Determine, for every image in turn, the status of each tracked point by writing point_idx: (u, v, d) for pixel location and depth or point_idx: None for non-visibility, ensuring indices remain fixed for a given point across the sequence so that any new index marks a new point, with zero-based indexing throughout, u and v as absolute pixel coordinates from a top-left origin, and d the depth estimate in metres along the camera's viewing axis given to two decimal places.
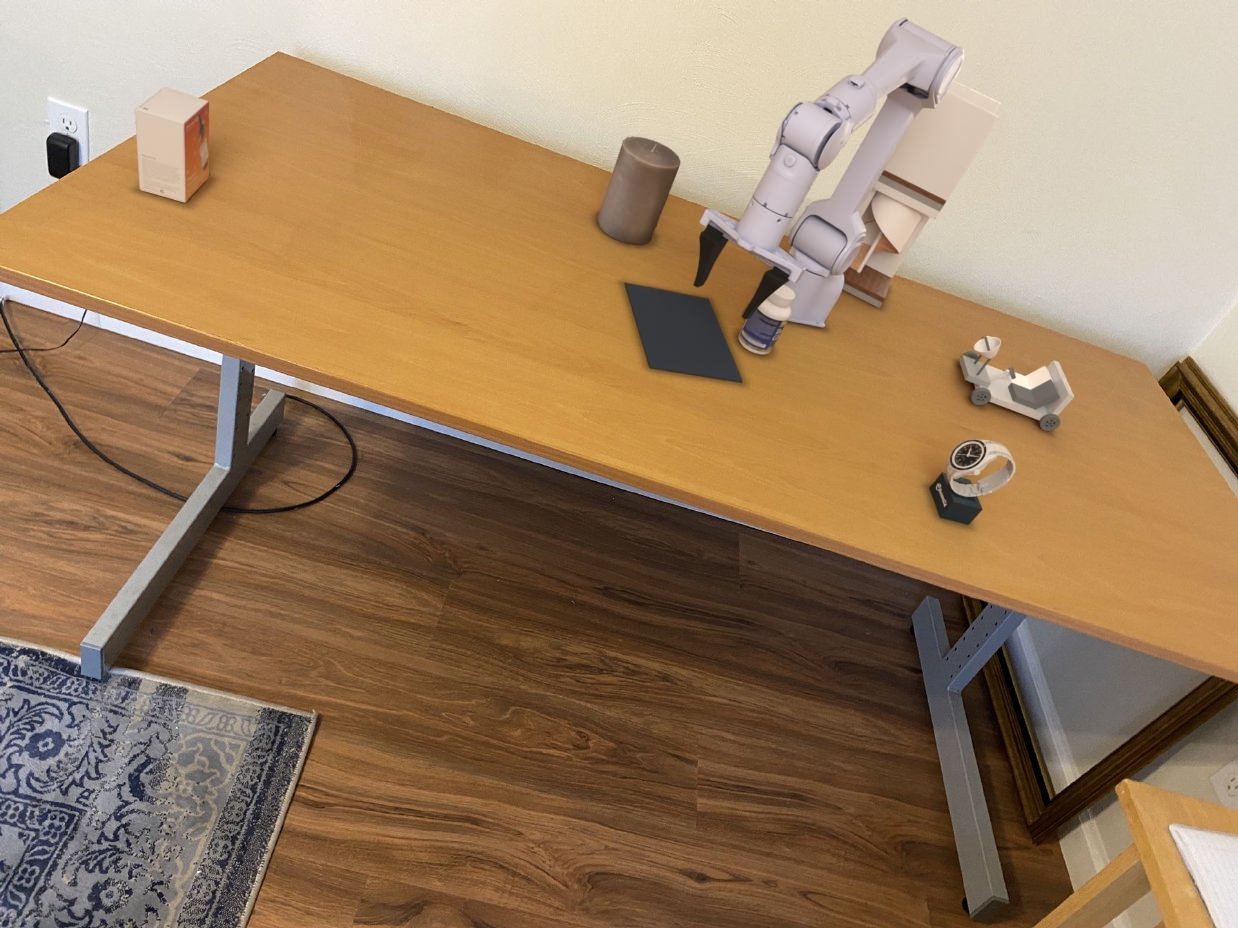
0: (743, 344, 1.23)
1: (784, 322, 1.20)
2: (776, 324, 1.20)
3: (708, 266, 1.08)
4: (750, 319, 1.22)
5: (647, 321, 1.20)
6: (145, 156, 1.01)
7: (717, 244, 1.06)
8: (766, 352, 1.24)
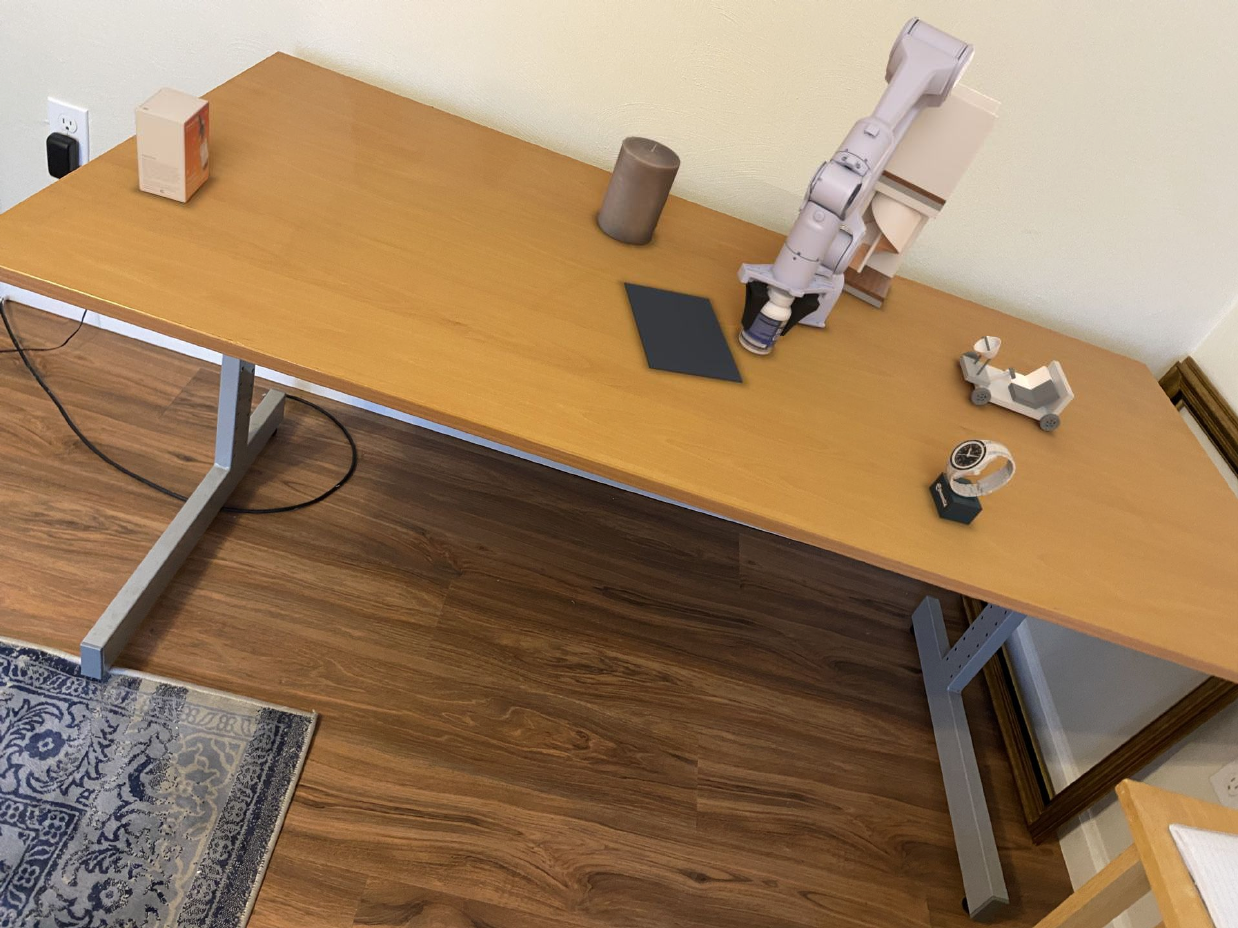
0: (743, 344, 1.23)
1: (784, 322, 1.20)
2: (776, 325, 1.20)
3: None
4: None
5: (647, 321, 1.20)
6: (145, 156, 1.01)
7: None
8: (766, 352, 1.24)
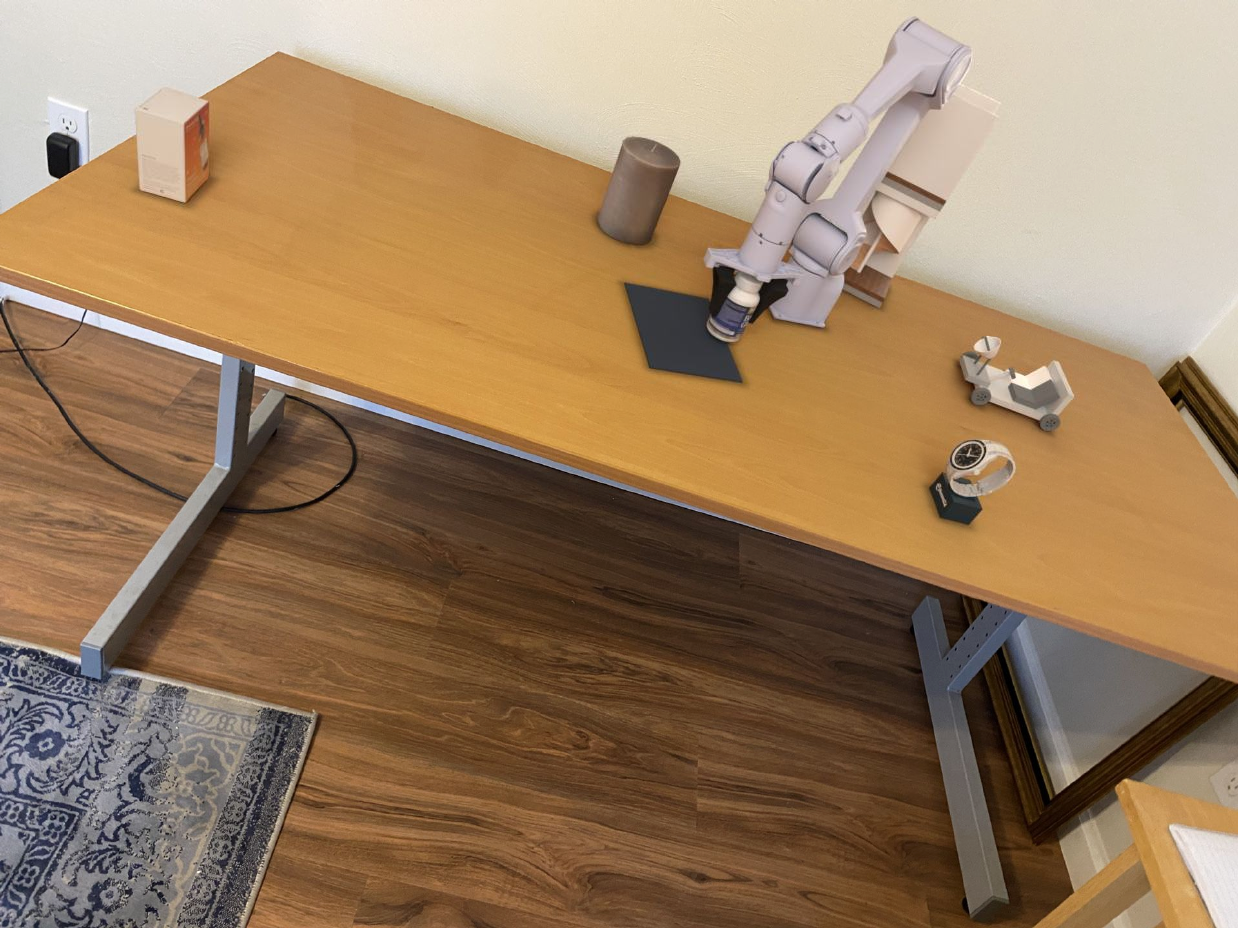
0: (711, 331, 1.21)
1: (752, 308, 1.18)
2: (744, 311, 1.17)
3: None
4: None
5: (647, 321, 1.20)
6: (145, 156, 1.01)
7: None
8: (735, 340, 1.21)
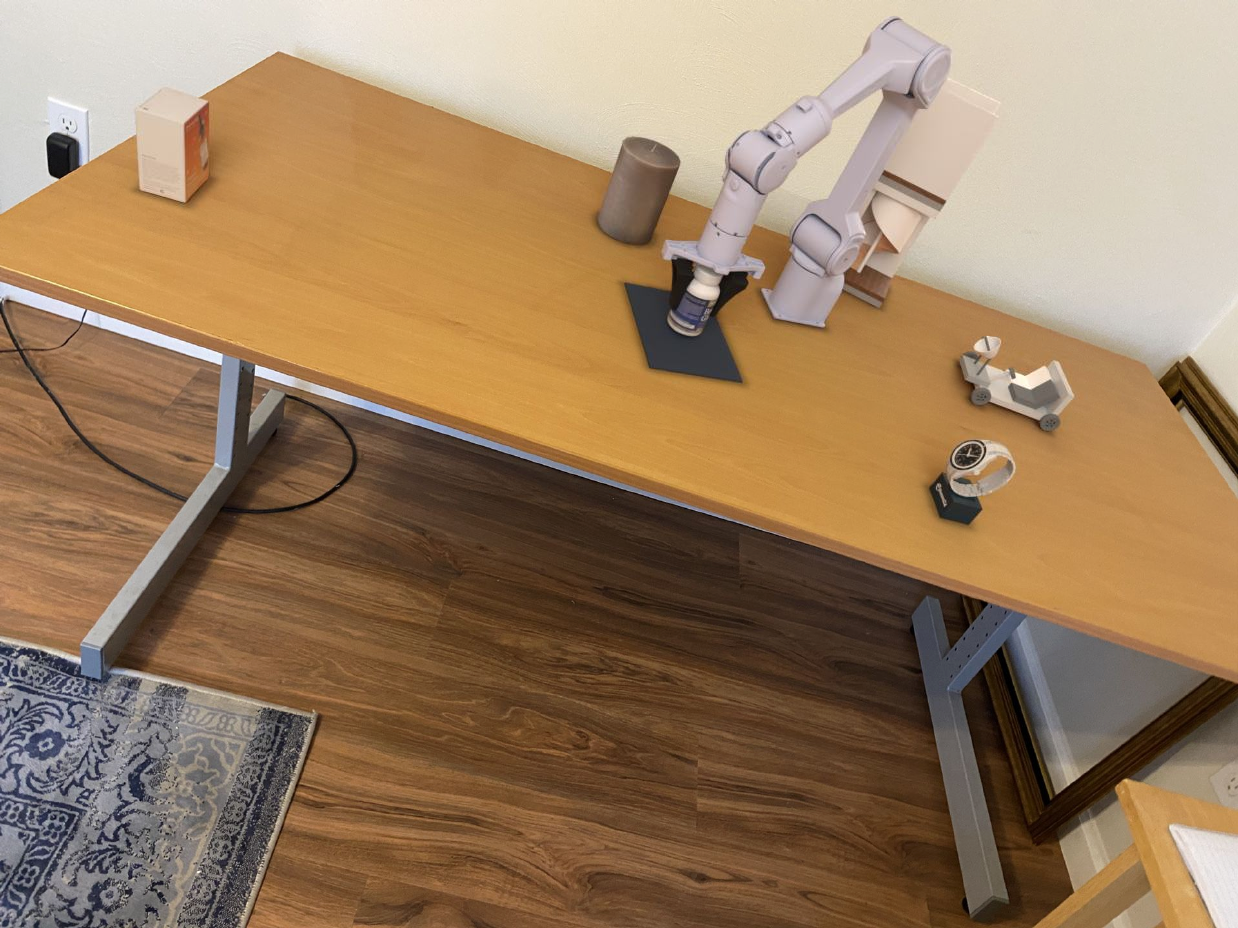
0: (671, 325, 1.19)
1: (712, 301, 1.16)
2: (703, 304, 1.15)
3: None
4: None
5: (647, 321, 1.20)
6: (145, 156, 1.01)
7: None
8: (696, 333, 1.19)
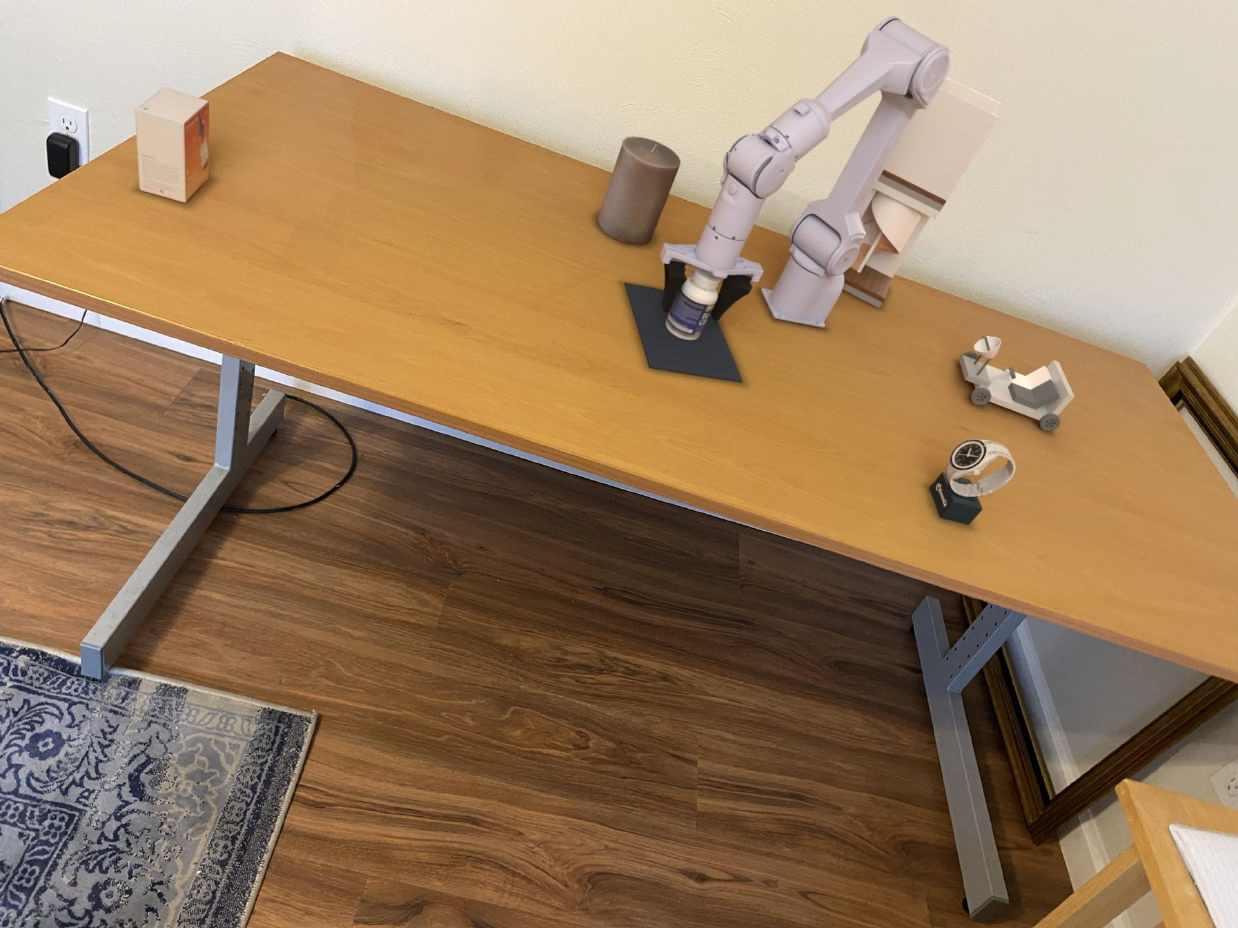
0: (670, 329, 1.19)
1: (710, 306, 1.16)
2: (701, 309, 1.16)
3: None
4: (676, 303, 1.17)
5: (647, 321, 1.20)
6: (145, 156, 1.01)
7: None
8: (694, 338, 1.19)
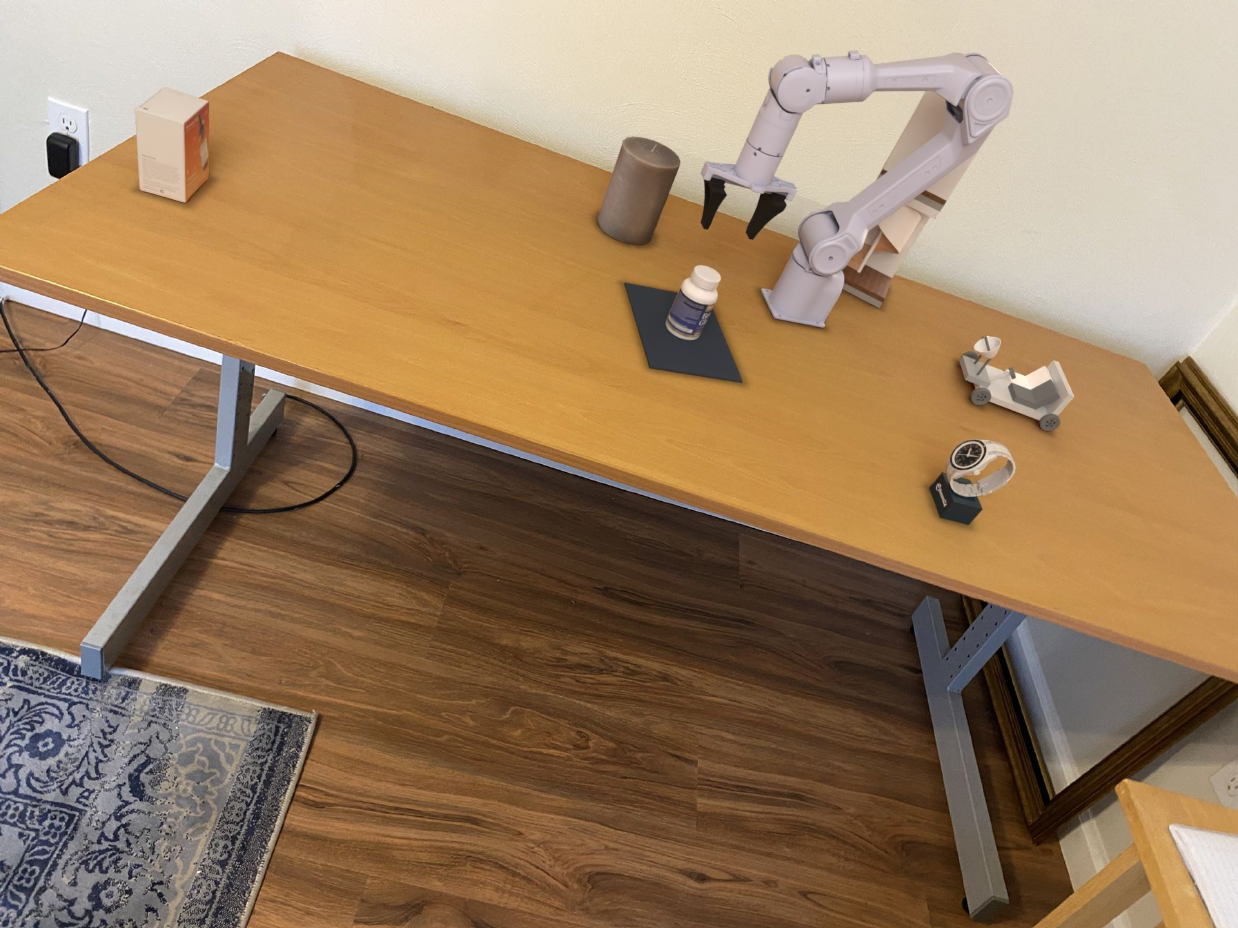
0: (670, 329, 1.19)
1: (710, 306, 1.16)
2: (701, 309, 1.16)
3: None
4: (676, 303, 1.17)
5: (647, 321, 1.20)
6: (145, 156, 1.01)
7: None
8: (694, 338, 1.19)
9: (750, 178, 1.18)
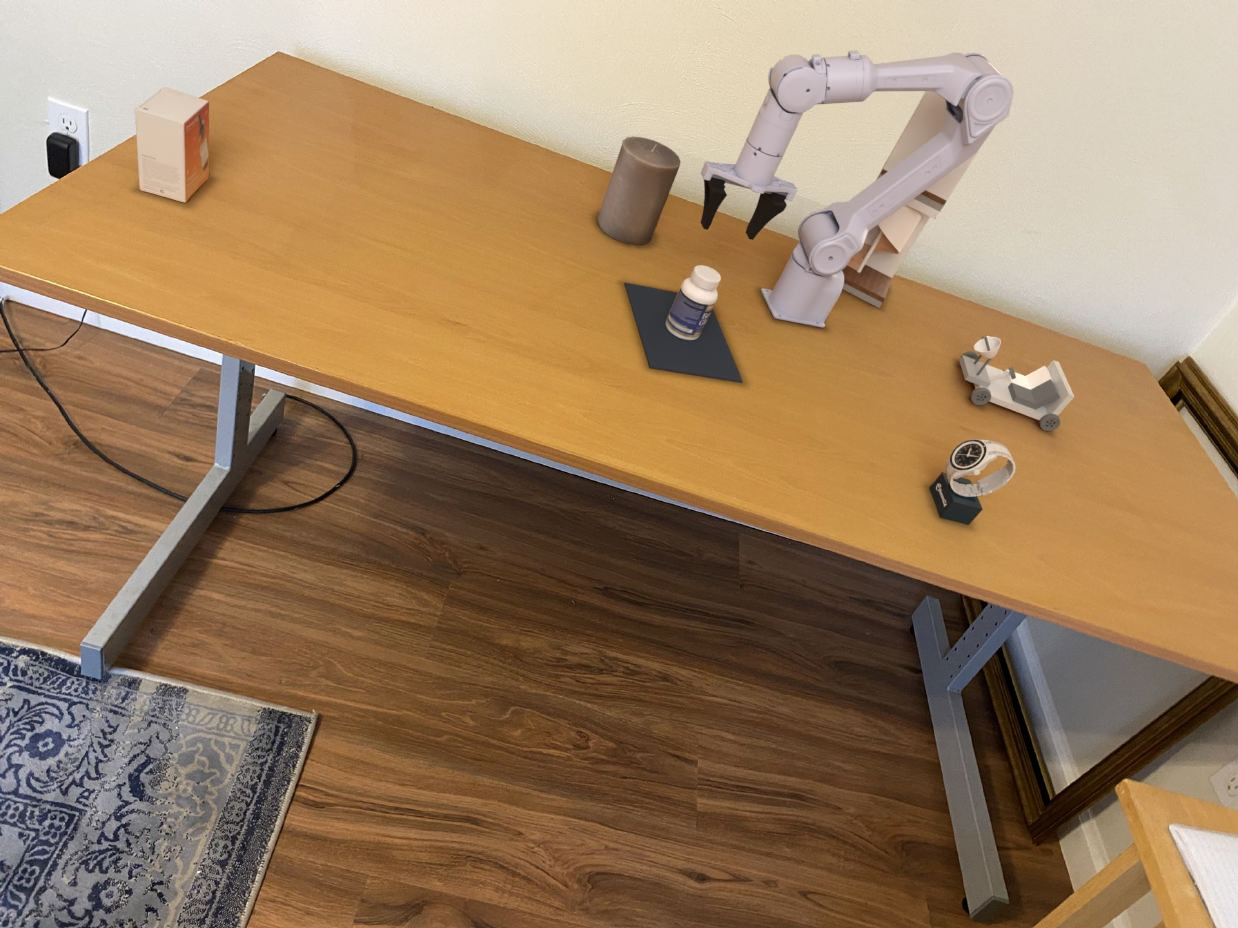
0: (670, 329, 1.19)
1: (710, 306, 1.16)
2: (701, 309, 1.16)
3: None
4: (676, 303, 1.17)
5: (647, 321, 1.20)
6: (145, 156, 1.01)
7: None
8: (694, 338, 1.19)
9: (750, 178, 1.18)
